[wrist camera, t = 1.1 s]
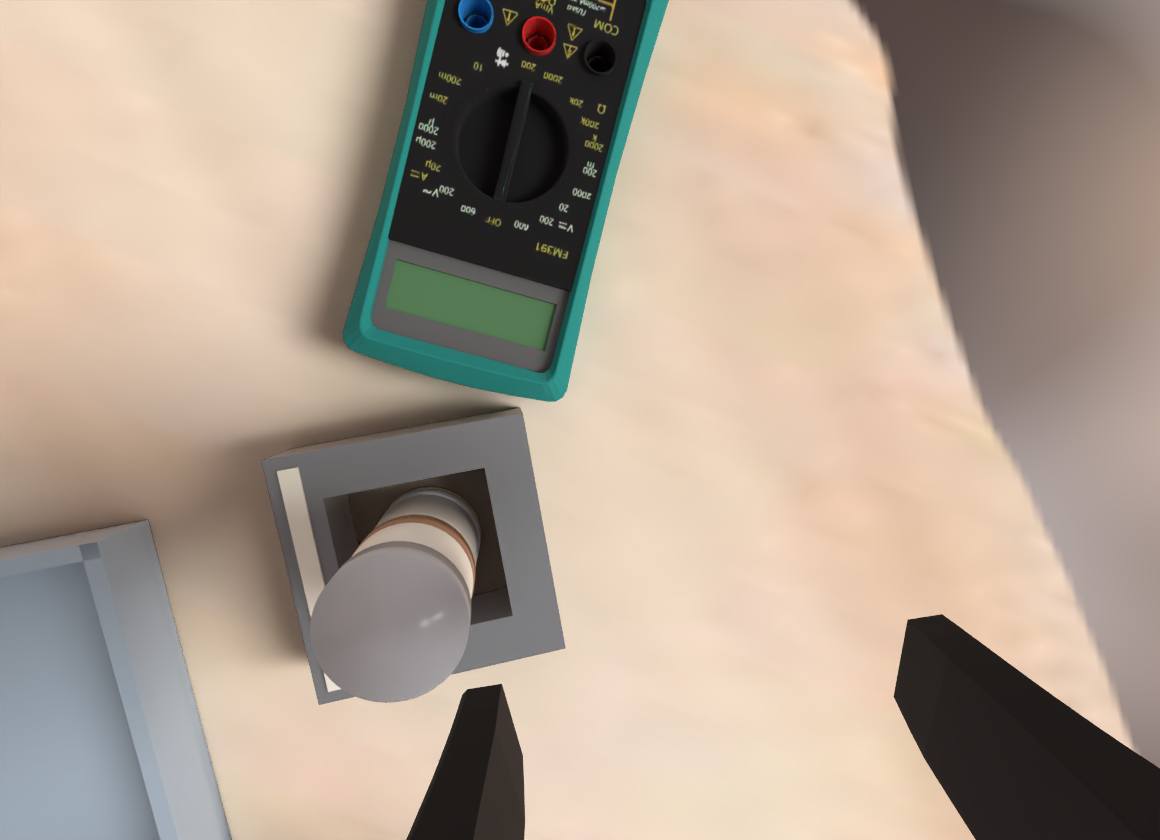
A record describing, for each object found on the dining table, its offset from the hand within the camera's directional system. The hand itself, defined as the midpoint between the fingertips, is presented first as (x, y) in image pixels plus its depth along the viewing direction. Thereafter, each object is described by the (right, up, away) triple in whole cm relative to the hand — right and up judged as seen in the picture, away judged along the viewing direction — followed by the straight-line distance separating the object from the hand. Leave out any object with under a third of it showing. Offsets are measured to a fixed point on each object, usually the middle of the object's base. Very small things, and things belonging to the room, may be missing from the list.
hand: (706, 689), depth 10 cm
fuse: (-8, +1, +11) cm, 13 cm away
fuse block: (-8, +1, +11) cm, 13 cm away
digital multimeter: (-5, +13, +10) cm, 18 cm away
